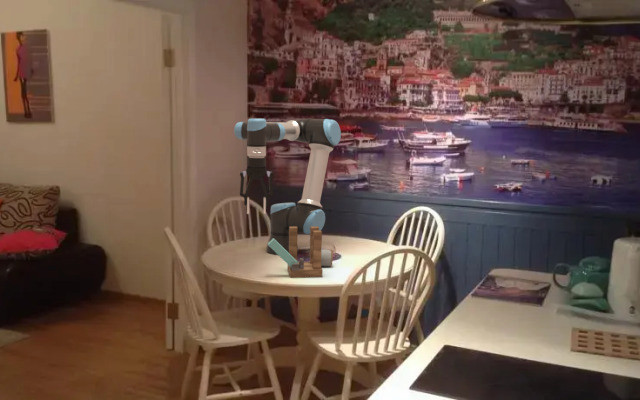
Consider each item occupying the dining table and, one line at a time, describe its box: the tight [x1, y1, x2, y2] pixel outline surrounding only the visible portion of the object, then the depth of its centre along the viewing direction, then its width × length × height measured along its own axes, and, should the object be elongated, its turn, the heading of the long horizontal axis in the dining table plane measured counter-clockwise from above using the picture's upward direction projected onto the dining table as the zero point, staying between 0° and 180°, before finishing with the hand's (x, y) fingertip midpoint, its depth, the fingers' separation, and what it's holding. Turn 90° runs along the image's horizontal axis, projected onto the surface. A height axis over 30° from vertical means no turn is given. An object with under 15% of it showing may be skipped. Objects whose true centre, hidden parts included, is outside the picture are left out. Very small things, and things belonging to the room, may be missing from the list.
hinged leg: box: [267, 238, 299, 268], centre depth 251 cm, size 3×3×15 cm
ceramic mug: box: [321, 248, 334, 267], centre depth 271 cm, size 11×8×8 cm
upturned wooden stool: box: [287, 226, 323, 279], centre depth 256 cm, size 14×13×18 cm
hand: (256, 213), depth 254 cm, fingers open, 6 cm apart
